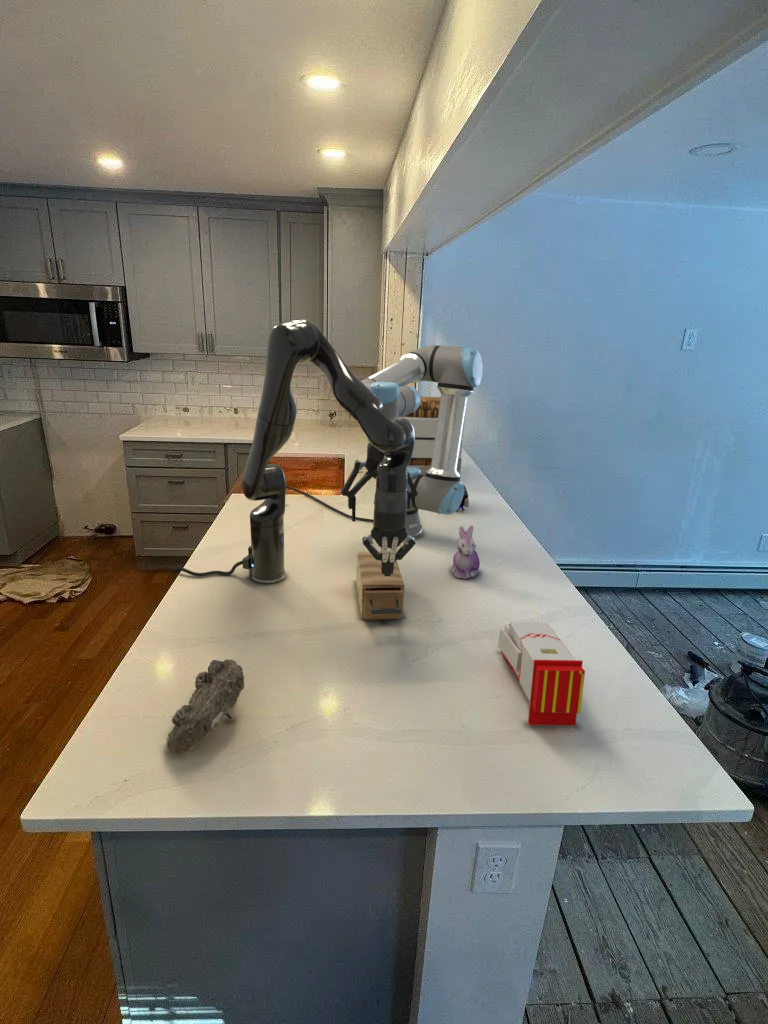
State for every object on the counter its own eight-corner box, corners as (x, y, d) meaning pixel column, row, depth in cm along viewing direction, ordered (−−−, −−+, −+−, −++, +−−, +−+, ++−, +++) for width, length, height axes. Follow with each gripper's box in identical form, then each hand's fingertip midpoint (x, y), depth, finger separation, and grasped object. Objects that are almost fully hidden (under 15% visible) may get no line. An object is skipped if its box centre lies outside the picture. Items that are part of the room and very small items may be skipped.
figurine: (462, 582, 166) (466, 535, 161) (443, 568, 174) (447, 522, 169) (488, 576, 170) (493, 530, 165) (468, 563, 179) (472, 518, 173)
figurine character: (468, 516, 224) (463, 500, 237) (471, 498, 221) (465, 483, 234) (452, 515, 224) (447, 499, 237) (453, 498, 220) (449, 482, 234)
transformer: (382, 463, 289) (386, 382, 275) (445, 464, 293) (451, 384, 279) (390, 482, 257) (394, 392, 243) (460, 483, 261) (468, 394, 247)
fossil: (192, 660, 117) (244, 628, 112) (224, 691, 120) (276, 661, 115) (142, 746, 98) (202, 712, 93) (182, 779, 101) (242, 748, 96)
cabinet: (402, 617, 146) (404, 584, 143) (361, 618, 145) (362, 584, 141) (392, 581, 165) (394, 551, 162) (356, 581, 164) (357, 551, 160)
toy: (544, 607, 134) (594, 667, 105) (539, 659, 137) (586, 732, 108) (493, 606, 134) (529, 666, 105) (489, 658, 137) (523, 731, 107)
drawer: (404, 631, 138) (406, 603, 135) (366, 632, 137) (367, 604, 134) (392, 584, 161) (393, 559, 159) (359, 584, 160) (359, 560, 157)
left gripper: (362, 512, 125) (360, 582, 131) (421, 512, 127) (417, 581, 132) (360, 501, 132) (358, 568, 138) (416, 501, 134) (412, 567, 139)
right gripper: (334, 445, 142) (332, 524, 149) (431, 447, 145) (426, 524, 152) (333, 439, 149) (332, 515, 156) (426, 441, 152) (421, 515, 159)
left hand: (387, 574), depth 135 cm, fingers closed
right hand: (378, 520), depth 154 cm, fingers open, 13 cm apart
